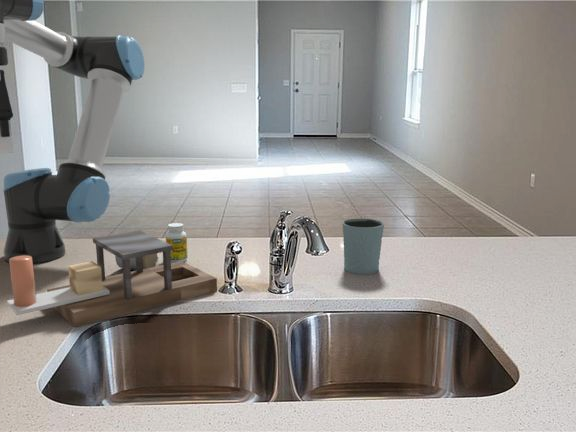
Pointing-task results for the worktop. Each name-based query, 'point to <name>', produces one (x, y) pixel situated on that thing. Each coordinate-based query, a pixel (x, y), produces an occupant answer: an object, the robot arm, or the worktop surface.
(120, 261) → the ceramic mug
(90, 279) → the maple block
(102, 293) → the white plank with peg
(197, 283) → the tunnel deck
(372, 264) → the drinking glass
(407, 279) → the worktop surface
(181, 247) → the supplement bottle
